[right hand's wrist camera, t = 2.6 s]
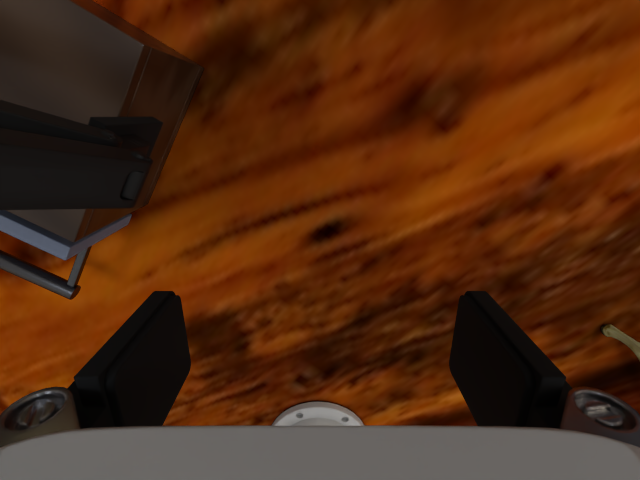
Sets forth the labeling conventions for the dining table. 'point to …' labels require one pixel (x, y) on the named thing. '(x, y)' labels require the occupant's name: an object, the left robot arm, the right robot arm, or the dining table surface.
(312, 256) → the dining table surface
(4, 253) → the drawer
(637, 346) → the toy
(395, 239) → the dining table surface
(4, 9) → the cabinet
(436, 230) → the dining table surface
